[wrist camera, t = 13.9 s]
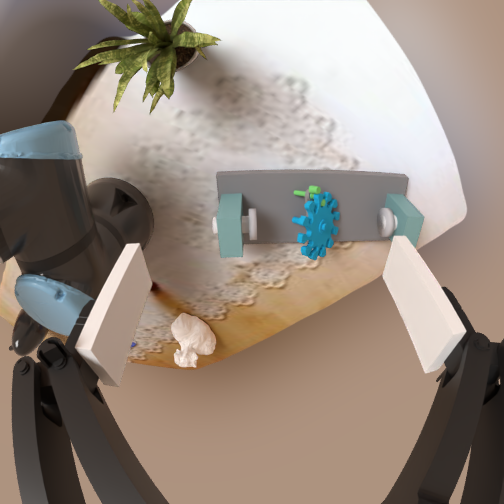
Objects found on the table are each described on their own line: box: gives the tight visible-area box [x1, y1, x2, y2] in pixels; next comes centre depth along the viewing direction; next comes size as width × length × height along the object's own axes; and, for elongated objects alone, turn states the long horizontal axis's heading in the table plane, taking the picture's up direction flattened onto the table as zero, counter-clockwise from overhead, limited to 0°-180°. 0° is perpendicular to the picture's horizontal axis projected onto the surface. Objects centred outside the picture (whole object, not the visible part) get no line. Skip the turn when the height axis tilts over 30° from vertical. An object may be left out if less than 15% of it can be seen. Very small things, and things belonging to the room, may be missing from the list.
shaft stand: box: [213, 170, 424, 258], centre depth 40 cm, size 31×12×9 cm, turn 92°
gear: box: [292, 186, 340, 260], centre depth 41 cm, size 11×6×10 cm
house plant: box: [75, 0, 221, 113], centre depth 23 cm, size 14×14×16 cm
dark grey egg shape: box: [9, 309, 48, 356], centre depth 55 cm, size 10×10×15 cm
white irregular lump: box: [171, 313, 216, 367], centre depth 58 cm, size 12×8×11 cm
